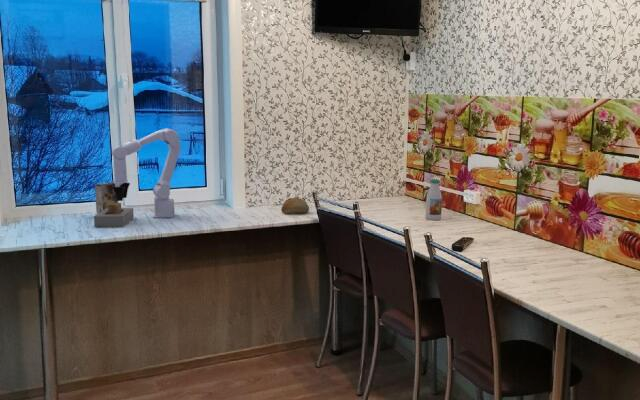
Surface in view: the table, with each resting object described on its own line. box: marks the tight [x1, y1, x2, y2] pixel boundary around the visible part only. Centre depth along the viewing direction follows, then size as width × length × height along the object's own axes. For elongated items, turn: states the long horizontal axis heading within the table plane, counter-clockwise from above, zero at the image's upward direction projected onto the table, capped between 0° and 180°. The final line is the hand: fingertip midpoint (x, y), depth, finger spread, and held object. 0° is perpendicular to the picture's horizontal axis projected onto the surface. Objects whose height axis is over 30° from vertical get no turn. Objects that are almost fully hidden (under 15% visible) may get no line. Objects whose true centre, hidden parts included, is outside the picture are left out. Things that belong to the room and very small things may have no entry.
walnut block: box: [108, 202, 122, 214], centre depth 278 cm, size 5×5×9 cm
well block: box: [93, 207, 135, 228], centre depth 278 cm, size 13×20×5 cm, turn 4°
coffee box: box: [94, 182, 119, 215], centre depth 293 cm, size 9×6×16 cm
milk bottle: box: [425, 178, 443, 221], centre depth 290 cm, size 8×8×20 cm
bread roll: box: [280, 197, 310, 214], centre depth 303 cm, size 10×15×8 cm, turn 112°
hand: (122, 199), depth 282 cm, fingers open, 7 cm apart
